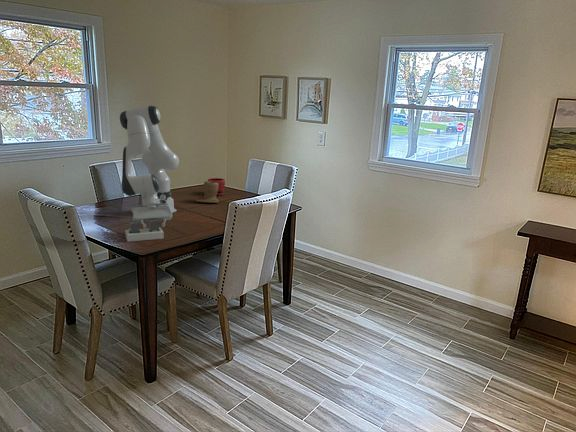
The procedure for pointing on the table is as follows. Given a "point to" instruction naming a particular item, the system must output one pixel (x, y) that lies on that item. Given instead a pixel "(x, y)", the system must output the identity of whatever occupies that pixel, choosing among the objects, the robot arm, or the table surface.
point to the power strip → (142, 233)
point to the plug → (154, 226)
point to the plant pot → (221, 184)
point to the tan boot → (209, 193)
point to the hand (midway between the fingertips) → (154, 227)
